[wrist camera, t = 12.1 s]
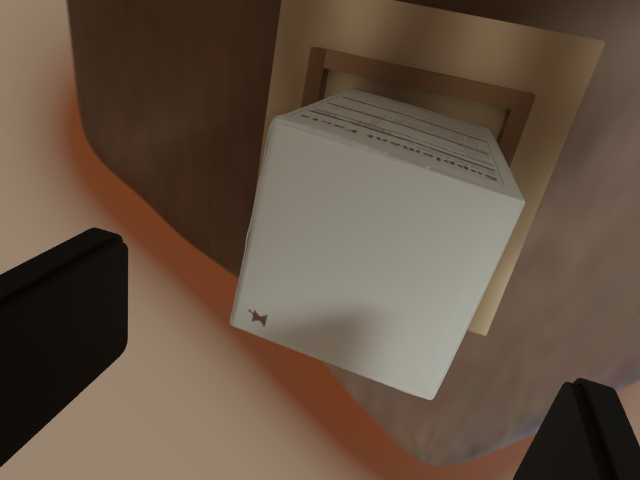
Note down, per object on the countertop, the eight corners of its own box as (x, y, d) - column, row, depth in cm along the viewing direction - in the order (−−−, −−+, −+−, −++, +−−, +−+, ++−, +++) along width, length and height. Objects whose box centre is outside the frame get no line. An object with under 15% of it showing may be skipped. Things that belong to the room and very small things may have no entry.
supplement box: (441, 254, 26) (431, 412, 15) (316, 210, 27) (219, 328, 16) (496, 125, 23) (536, 202, 12) (353, 80, 24) (263, 112, 13)
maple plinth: (583, 41, 24) (614, 41, 20) (482, 302, 31) (487, 347, 26) (307, -13, 27) (276, -25, 22) (268, 240, 33) (238, 272, 29)
